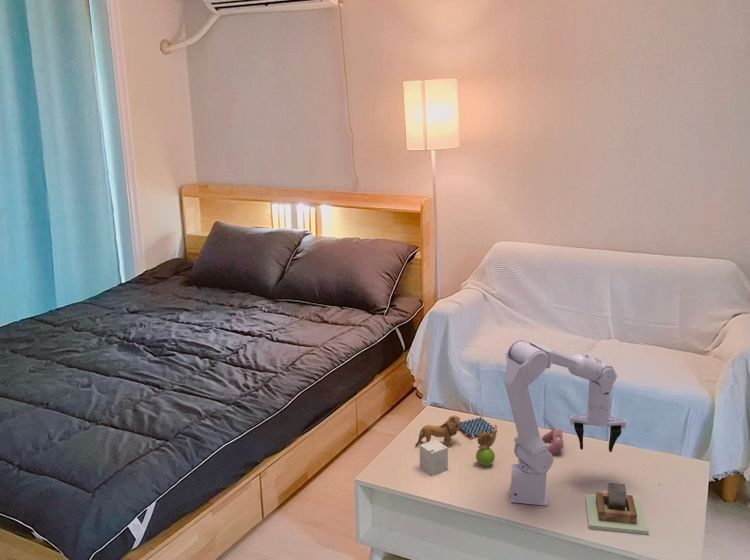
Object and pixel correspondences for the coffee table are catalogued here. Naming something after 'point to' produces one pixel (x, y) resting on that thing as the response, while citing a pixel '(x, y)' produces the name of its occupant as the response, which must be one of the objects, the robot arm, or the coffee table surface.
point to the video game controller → (554, 440)
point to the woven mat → (475, 428)
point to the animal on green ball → (486, 448)
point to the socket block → (615, 515)
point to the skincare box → (433, 457)
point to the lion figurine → (441, 430)
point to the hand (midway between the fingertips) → (595, 448)
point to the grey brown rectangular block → (616, 496)
